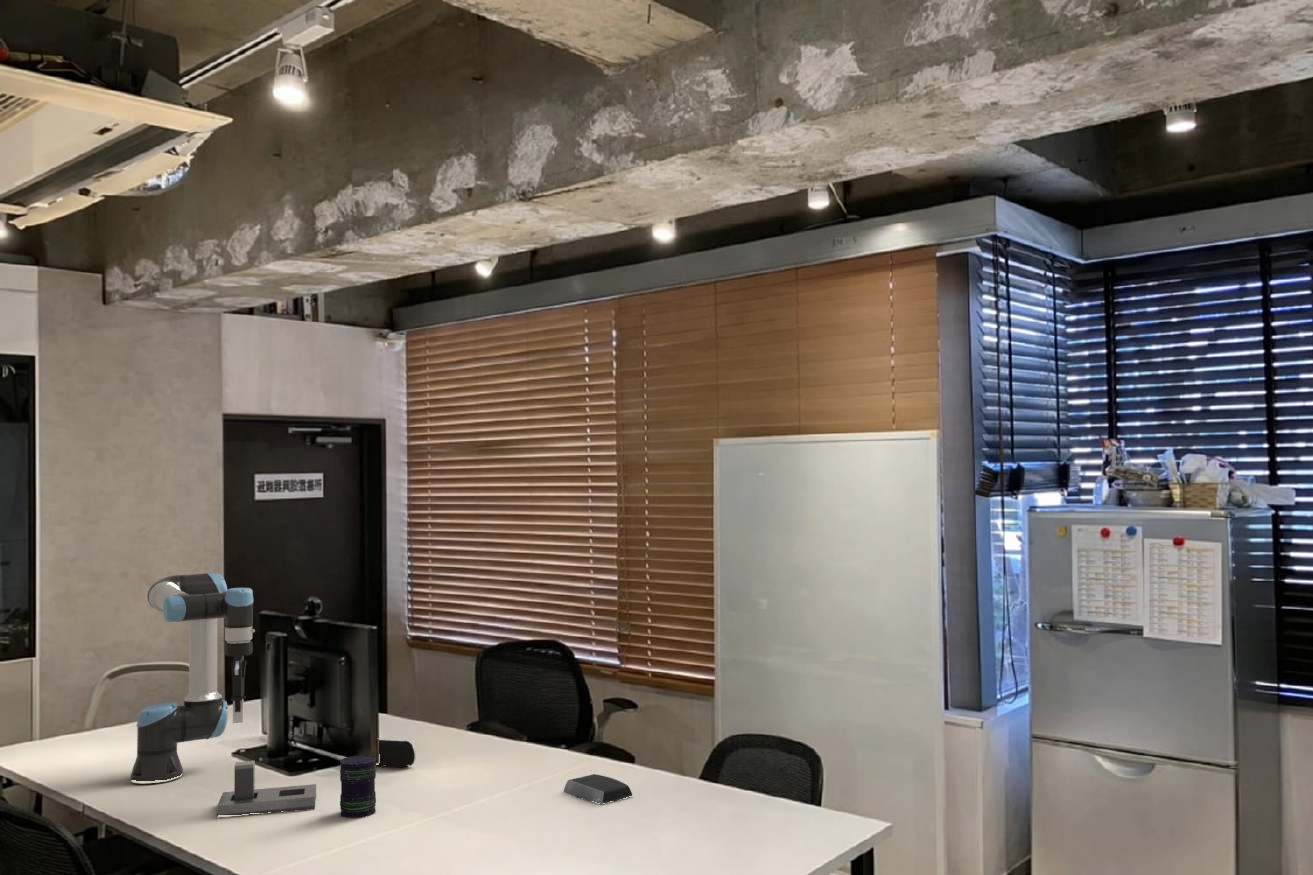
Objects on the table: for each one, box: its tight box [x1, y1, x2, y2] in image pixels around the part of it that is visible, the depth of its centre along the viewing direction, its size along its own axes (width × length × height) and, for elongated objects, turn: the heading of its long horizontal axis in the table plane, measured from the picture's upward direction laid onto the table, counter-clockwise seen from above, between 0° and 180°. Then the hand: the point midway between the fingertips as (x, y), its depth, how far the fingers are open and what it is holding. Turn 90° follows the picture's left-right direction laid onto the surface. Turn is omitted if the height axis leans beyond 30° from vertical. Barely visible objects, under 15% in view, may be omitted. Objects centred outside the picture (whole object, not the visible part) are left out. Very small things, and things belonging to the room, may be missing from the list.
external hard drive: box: [563, 773, 633, 805], centre depth 311 cm, size 13×19×4 cm
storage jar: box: [339, 754, 377, 819], centre depth 296 cm, size 10×10×15 cm
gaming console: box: [378, 738, 417, 767], centre depth 346 cm, size 19×9×2 cm
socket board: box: [216, 783, 317, 817], centre depth 303 cm, size 14×26×4 cm, turn 106°
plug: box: [233, 760, 256, 801], centre depth 301 cm, size 4×5×12 cm
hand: (238, 722), depth 306 cm, fingers closed
